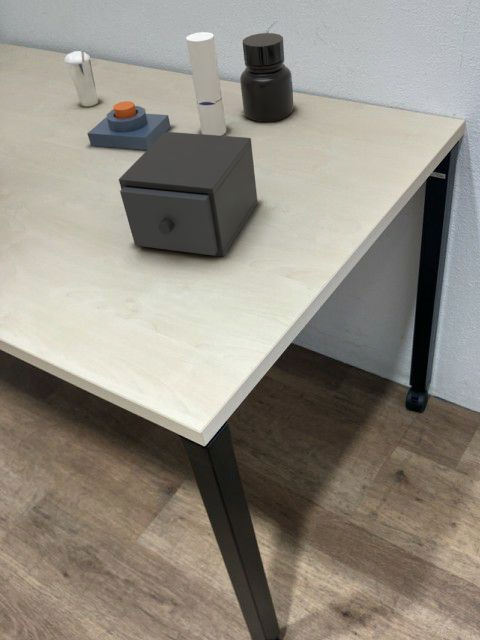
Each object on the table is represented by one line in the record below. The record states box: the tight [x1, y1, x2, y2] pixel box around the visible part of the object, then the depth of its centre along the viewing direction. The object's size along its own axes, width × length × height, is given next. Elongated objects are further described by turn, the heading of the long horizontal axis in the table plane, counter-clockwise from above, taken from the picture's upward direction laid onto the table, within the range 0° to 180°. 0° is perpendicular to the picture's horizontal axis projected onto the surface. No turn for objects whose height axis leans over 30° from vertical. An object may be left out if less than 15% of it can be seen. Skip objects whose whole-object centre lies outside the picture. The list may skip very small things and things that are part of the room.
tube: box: [185, 31, 227, 136], centre depth 100 cm, size 4×4×15 cm
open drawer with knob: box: [119, 187, 218, 257], centre depth 79 cm, size 14×11×8 cm
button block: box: [87, 105, 171, 151], centre depth 105 cm, size 11×9×4 cm
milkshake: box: [64, 50, 99, 107], centre depth 114 cm, size 5×5×10 cm
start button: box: [112, 100, 137, 119], centre depth 103 cm, size 4×4×2 cm
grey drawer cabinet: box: [118, 131, 259, 257], centre depth 81 cm, size 14×13×10 cm
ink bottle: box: [239, 32, 294, 122], centre depth 105 cm, size 10×9×12 cm
